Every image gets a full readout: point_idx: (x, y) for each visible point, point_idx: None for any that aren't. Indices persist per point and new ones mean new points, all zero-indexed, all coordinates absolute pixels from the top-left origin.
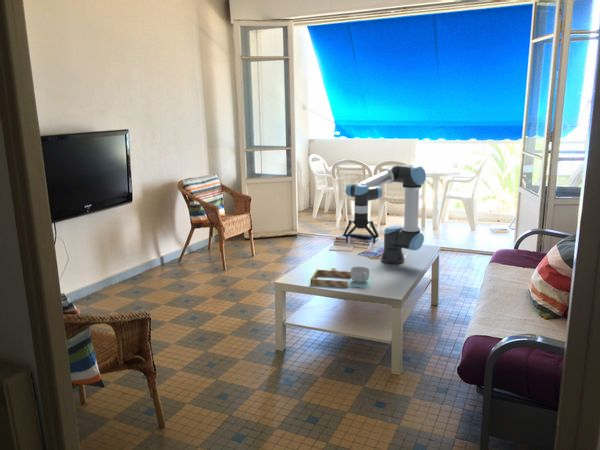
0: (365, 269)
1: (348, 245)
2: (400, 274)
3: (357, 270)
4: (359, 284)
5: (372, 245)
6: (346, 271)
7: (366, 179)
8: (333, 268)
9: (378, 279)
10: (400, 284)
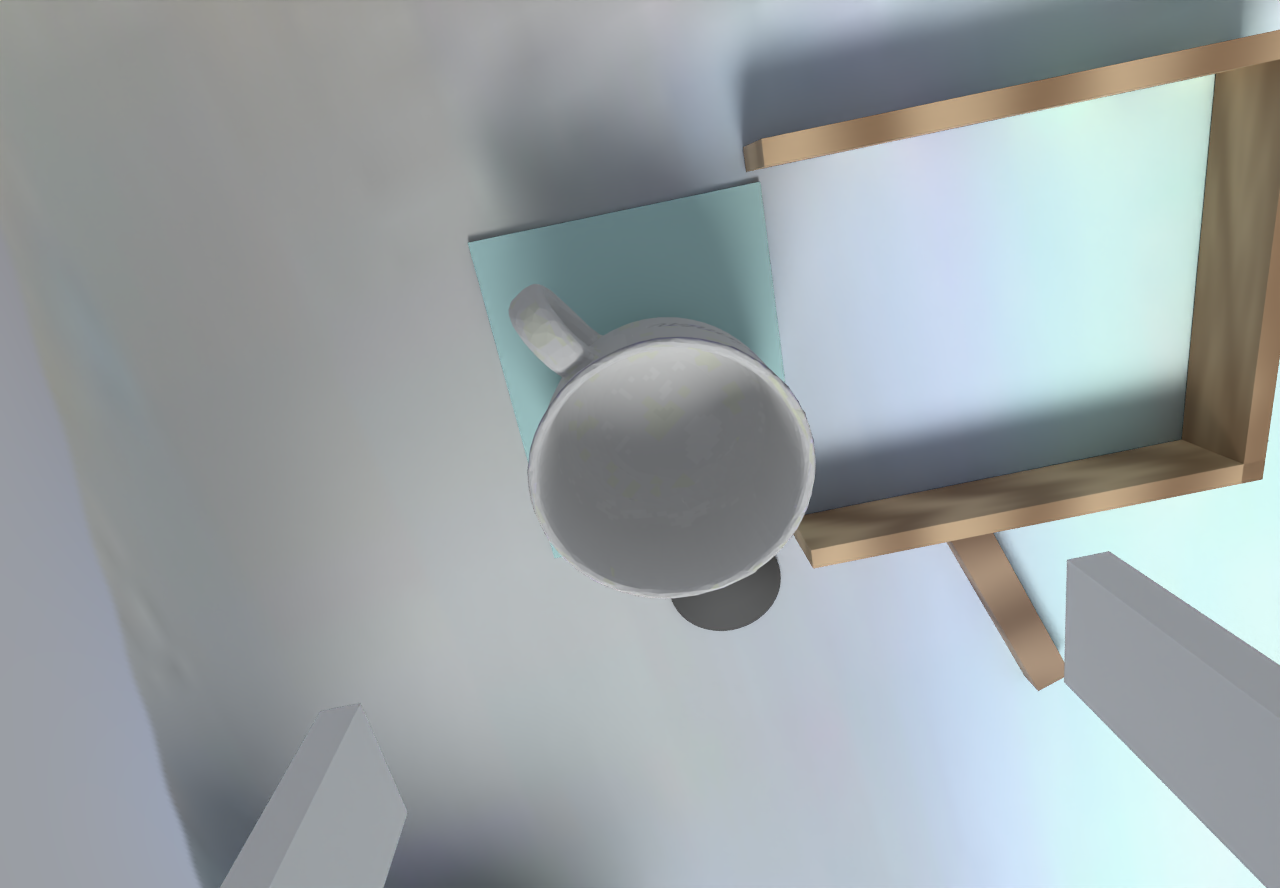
0: (624, 567)
1: (1174, 612)
2: None
3: (733, 539)
4: (630, 311)
5: (272, 827)
6: (880, 548)
7: None
8: (1050, 674)
9: (489, 574)
10: (194, 512)
